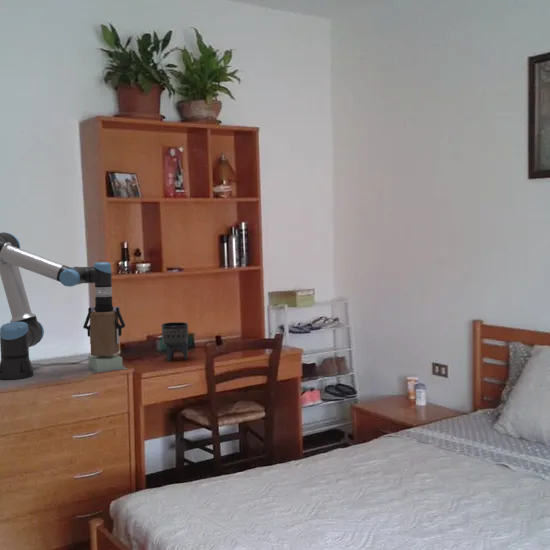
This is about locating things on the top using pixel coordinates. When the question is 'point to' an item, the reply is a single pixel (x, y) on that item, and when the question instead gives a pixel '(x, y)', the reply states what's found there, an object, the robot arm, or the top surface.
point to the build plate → (102, 371)
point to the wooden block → (103, 333)
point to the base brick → (105, 362)
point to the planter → (175, 338)
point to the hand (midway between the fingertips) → (104, 343)
